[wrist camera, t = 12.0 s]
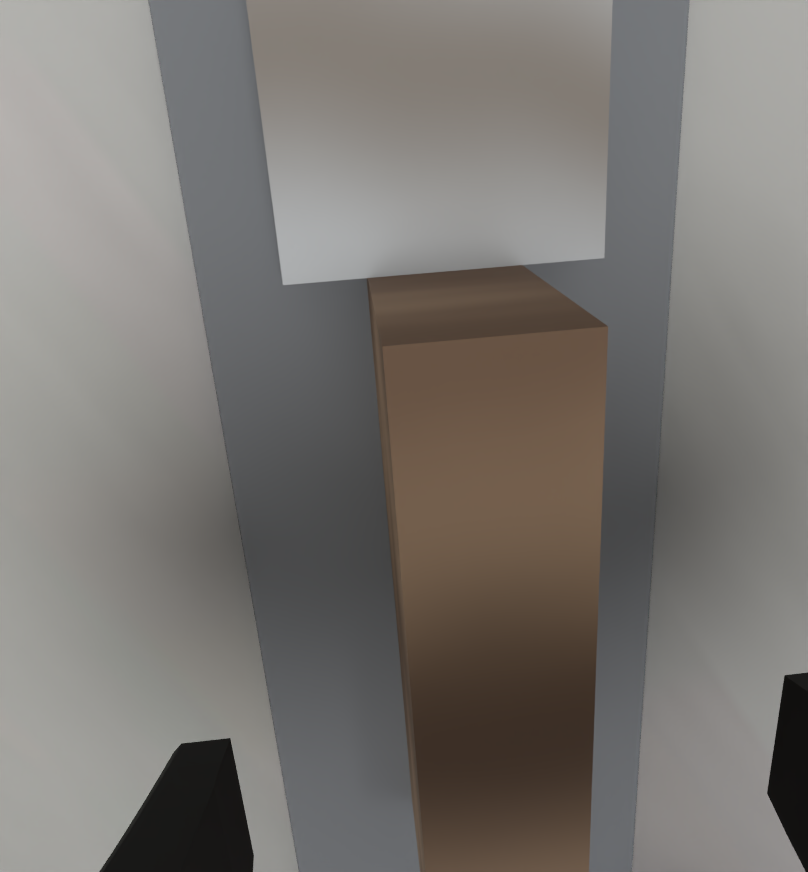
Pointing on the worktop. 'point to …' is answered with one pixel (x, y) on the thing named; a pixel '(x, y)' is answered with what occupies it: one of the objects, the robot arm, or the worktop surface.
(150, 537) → the worktop surface
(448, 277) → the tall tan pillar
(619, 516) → the mat
